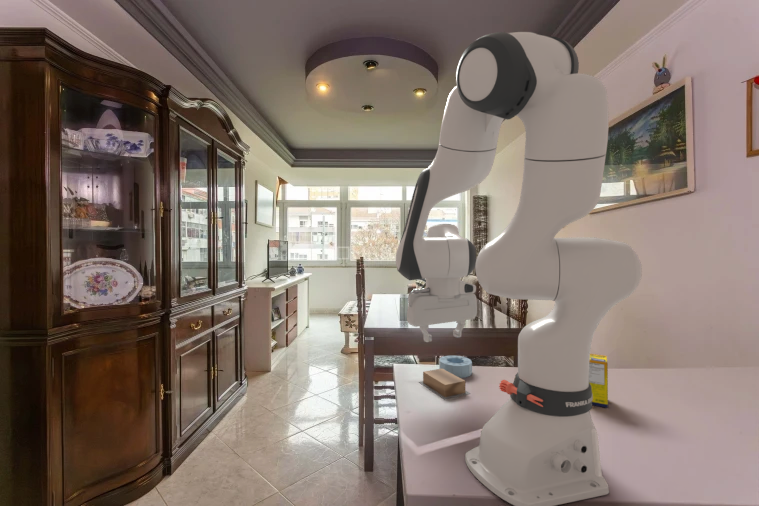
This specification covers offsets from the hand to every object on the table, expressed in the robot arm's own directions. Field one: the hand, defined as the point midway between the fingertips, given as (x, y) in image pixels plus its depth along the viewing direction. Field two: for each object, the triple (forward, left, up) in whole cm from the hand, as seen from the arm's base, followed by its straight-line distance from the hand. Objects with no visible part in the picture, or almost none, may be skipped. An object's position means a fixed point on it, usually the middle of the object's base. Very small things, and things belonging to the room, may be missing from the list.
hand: (442, 339), depth 89 cm
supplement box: (+30, -21, -14) cm, 39 cm away
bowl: (+10, +7, -14) cm, 18 cm away
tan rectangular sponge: (0, -1, -13) cm, 13 cm away
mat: (0, -1, -14) cm, 14 cm away
